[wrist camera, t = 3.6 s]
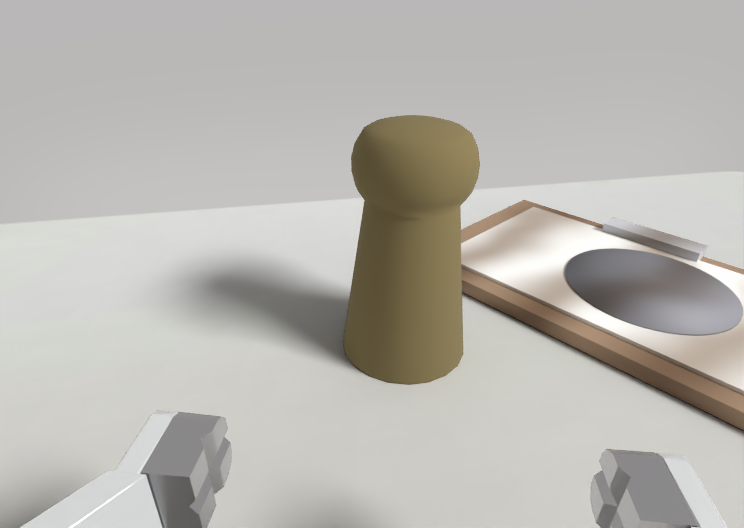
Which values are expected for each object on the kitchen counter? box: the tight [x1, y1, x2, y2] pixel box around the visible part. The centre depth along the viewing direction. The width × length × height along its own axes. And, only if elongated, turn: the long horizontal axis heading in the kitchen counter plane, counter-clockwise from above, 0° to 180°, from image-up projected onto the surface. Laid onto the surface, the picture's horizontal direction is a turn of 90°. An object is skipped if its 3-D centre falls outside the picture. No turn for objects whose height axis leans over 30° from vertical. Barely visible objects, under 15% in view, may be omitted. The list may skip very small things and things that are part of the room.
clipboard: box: [461, 200, 744, 430], centre depth 29 cm, size 20×14×2 cm
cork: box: [343, 115, 480, 384], centre depth 22 cm, size 6×6×11 cm
